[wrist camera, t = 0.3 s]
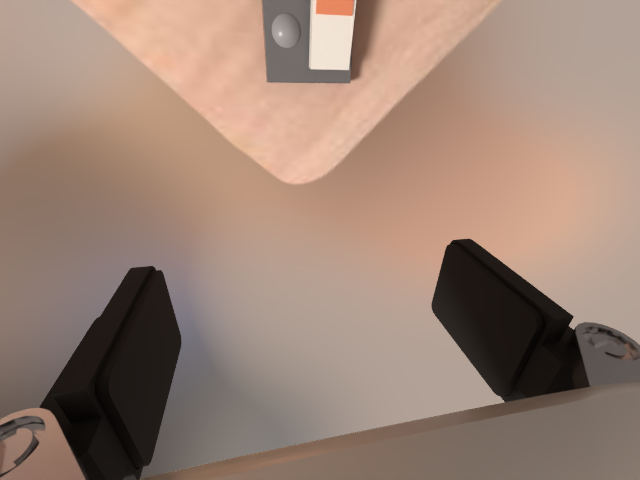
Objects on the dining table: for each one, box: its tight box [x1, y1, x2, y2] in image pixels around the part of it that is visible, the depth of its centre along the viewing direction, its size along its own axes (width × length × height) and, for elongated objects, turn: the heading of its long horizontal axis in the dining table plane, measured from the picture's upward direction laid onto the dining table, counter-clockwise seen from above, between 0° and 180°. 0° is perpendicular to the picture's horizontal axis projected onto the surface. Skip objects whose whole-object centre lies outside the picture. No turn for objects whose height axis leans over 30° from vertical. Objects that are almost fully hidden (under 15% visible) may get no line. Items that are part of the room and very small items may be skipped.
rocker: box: [309, 0, 356, 70], centre depth 29 cm, size 6×4×1 cm, turn 179°
